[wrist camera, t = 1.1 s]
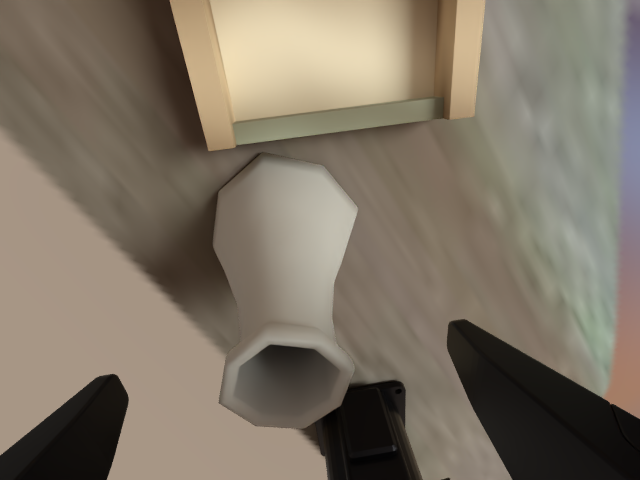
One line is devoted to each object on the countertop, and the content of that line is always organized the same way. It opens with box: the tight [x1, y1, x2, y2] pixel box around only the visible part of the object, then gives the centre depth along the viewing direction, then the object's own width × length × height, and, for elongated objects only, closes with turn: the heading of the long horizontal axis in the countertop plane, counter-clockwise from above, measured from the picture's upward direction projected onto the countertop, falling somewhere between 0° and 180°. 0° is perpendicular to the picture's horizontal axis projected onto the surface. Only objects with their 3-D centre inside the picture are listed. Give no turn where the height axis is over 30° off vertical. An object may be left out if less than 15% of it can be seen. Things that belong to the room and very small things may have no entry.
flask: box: [212, 152, 358, 429], centre depth 12 cm, size 7×7×10 cm
